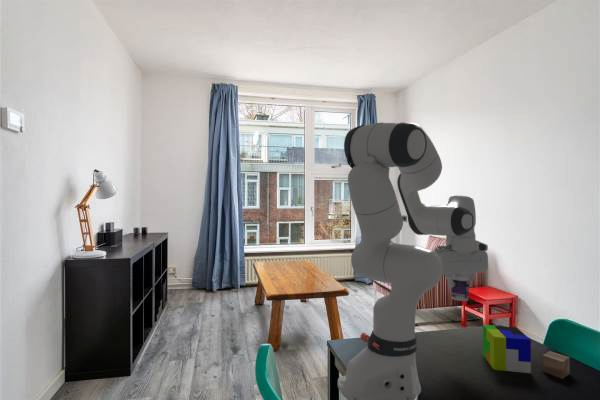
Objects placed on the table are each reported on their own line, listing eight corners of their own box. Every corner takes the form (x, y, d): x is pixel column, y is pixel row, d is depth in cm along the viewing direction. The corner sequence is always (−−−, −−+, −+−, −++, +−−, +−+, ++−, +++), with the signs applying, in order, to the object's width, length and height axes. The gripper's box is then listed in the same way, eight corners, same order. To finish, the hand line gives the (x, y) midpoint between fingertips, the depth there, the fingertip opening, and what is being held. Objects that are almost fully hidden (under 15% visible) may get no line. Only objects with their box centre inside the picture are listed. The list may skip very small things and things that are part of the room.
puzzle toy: (530, 373, 101) (530, 339, 101) (493, 369, 103) (493, 336, 103) (516, 358, 111) (516, 327, 111) (482, 355, 113) (483, 324, 113)
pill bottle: (469, 302, 109) (470, 271, 110) (451, 300, 111) (452, 270, 111) (467, 297, 115) (467, 268, 115) (450, 296, 116) (450, 267, 116)
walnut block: (562, 379, 98) (562, 361, 98) (542, 371, 102) (542, 355, 102) (569, 374, 101) (569, 357, 101) (549, 367, 105) (549, 351, 105)
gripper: (441, 246, 107) (441, 290, 107) (491, 245, 113) (491, 287, 113) (428, 244, 113) (427, 286, 113) (476, 243, 119) (476, 283, 119)
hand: (459, 286), depth 113 cm, fingers closed on pill bottle, 5 cm apart
